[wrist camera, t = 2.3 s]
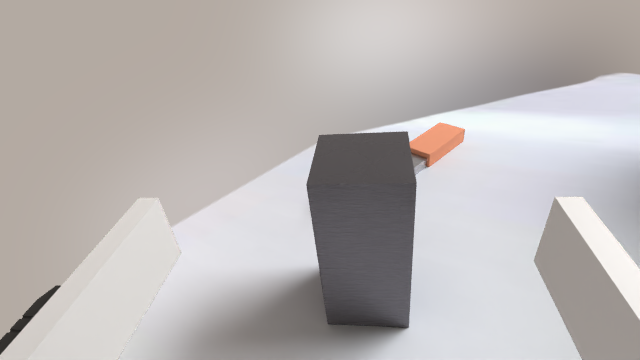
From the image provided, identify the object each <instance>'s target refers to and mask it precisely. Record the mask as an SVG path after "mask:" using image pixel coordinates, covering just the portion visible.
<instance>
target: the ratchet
mask: <svg viewBox="0 0 640 360" xmlns="http://www.w3.org/2000/svg"><path fill="white" fill-rule="evenodd" d="M464 132H465V129H462V128H459V127H455V126H451V125H448V124H444V123H438V124H437V125H435V126H434V127H432V128H431V129H429V130H428V131H426V132H425V133H423V134H422V135H420V136H419V137H417V138H416V139H414V140H413V141H411V142H410V149H411V154H412V160H413V166H414V172H415V175H416V174H417V173H419V172H420V171H421V170H423V169H424V168H425V167H427V166H428V167H430V166H431V165H432V164H434V163H435V162H436V161H438V160H439V159H440V158H442V157H443V156H444V155H446V154H447V153H448V152H450V151H451V150H452V149H454V148H455V147H456V146H458V145H459V144H460V143H462V142H463V139H464Z"/></svg>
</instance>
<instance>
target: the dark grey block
mask: <svg viewBox="0 0 640 360" xmlns="http://www.w3.org/2000/svg"><path fill="white" fill-rule="evenodd" d="M307 192H308V198H309V205H310V211H311V218H312V224H313V231H314V237H315V244H316V250H317V257H318V263H319V270H320V276H321V283H322V289H323V295H324V302H325V308H326V315H327V321H328V324H340V325H364V326H387V327H409V312H410V293H411V275H412V256H413V238H414V219H415V201H416V177H415V172H414V166H413V160H412V154H411V149H410V143H409V137H408V132H383V133H358V134H333V135H319V138H318V142H317V146H316V150H315V154H314V157H313V161H312V165H311V169H310V173H309V177H308V181H307Z"/></svg>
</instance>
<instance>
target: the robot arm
mask: <svg viewBox="0 0 640 360" xmlns="http://www.w3.org/2000/svg"><path fill="white" fill-rule="evenodd" d="M180 255H181V250H180V248H179V246H178V243H177V241H176V239H175V236H174V234H173V231H172V229H171V227H170V224H169V222H168V220H167V217H166V215H165V213H164V210H163V208H162V206H161V203H160V201H159V199H158V198H138V200H137V201H136V202H135V203H134V204H133V205H132V206H131V208H130V209H129V210H128V211H127V212H126V213H125V214H124V215H123V216H122V218H121V219H120V220H119V221H118V222H117V223H116V225H115V226H114V227H113V228H112V229H111V230H110V231H109V232H108V233H107V235H106V236H105V237H104V238H103V239H102V240H101V241H100V243H99V244H98V245H97V246H96V247H95V248H94V249H93V251H92V252H91V253H90V254H89V255H88V256H87V257H86V258H85V260H84V261H83V262H82V263H81V264H80V265H79V266H78V267H77V269H76V270H75V271H74V272H73V273H72V274H71V275H70V276H69V278H68V279H67V280H66V281H65V282H64V283H63V284H62V286H55V287H54V288H53V289H51V290H50V291H48V292H47V293H46V294H44V295H43V296H41V297H40V298H39V299H37V301H36V302H35V303H34V304H33V305H32V306H31V307H30V308H29V309H28V310H27V311H26V313H25V314H24V315H23V318H22V319H19V320H18V321H17V322H16V323H15V325H14V326H13V327H12V328H11V329H10V332H9V333H6V335H5V336H4V337H3V338H2V339H1V340H0V360H118V358H119V357H120V355H121V353H122V352H123V350H124V348H125V347H126V345H127V343H128V342H129V340H130V338H131V337H132V335H133V333H134V332H135V330H136V328H137V327H138V325H139V323H140V322H141V320H142V318H143V317H144V315H145V313H146V312H147V310H148V308H149V307H150V305H151V303H152V302H153V300H154V298H155V297H156V295H157V293H158V292H159V290H160V288H161V287H162V285H163V283H164V282H165V280H166V278H167V276H168V275H169V273H170V271H171V270H172V268H173V266H174V265H175V263H176V261H177V260H178V258H179V256H180ZM534 262H535V264H536V266H537V268H538V270H539V272H540V274H541V276H542V278H543V281H544V283H545V285H546V287H547V289H548V291H549V293H550V295H551V297H552V299H553V301H554V303H555V305H556V307H557V309H558V311H559V313H560V315H561V317H562V319H563V321H564V323H565V325H566V327H567V329H568V332H569V334H570V336H571V338H572V340H573V342H574V344H575V346H576V348H577V350H578V352H579V354H580V356H581V358H582V360H640V269H639V267H638V266H637V265H636V264H635V262H634V261H633V260H632V259H631V257H630V256H629V255H628V254H627V252H626V251H625V250H624V248H623V247H622V246H621V245H620V243H619V242H618V241H617V240H616V238H615V237H614V236H613V235H612V233H611V232H610V231H609V230H608V228H607V227H606V226H605V225H604V223H603V222H602V221H601V219H600V218H599V217H598V216H597V214H596V213H595V212H594V211H593V209H592V208H591V207H590V206H589V204H588V203H587V202H586V201H585V199H584V198H583V197H555V198H554V201H553V204H552V207H551V210H550V213H549V216H548V219H547V222H546V225H545V228H544V231H543V235H542V238H541V241H540V244H539V247H538V250H537V253H536V256H535V259H534Z"/></svg>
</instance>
